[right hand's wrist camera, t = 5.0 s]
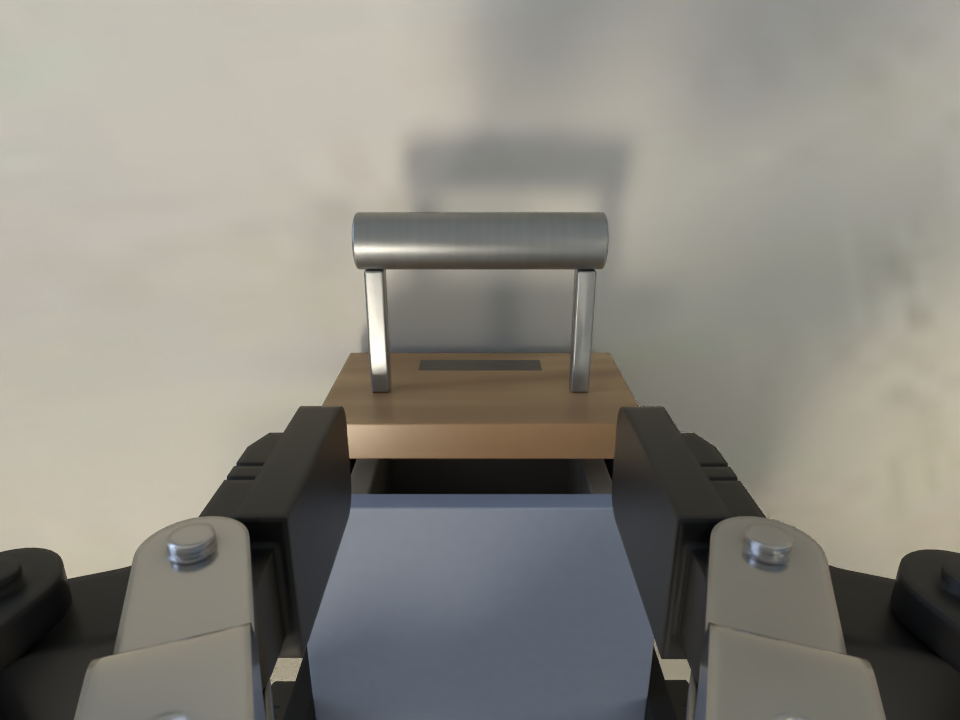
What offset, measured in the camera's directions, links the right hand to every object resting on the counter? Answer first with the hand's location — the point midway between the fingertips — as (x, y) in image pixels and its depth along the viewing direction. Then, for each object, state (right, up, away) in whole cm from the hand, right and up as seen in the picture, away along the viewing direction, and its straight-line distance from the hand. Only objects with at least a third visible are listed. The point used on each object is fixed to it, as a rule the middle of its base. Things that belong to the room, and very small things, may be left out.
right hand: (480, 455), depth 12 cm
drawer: (0, -1, +14) cm, 15 cm away
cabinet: (0, -6, +17) cm, 18 cm away
